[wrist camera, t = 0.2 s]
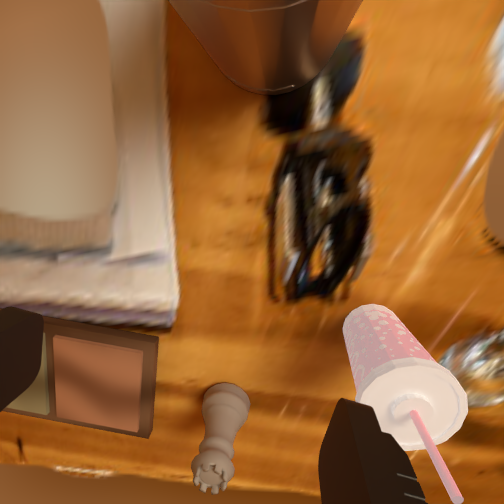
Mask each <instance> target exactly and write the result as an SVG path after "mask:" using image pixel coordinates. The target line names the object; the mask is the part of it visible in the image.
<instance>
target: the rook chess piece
mask: <svg viewBox="0 0 504 504" xmlns="http://www.w3.org/2000/svg"><path fill="white" fill-rule="evenodd" d="M249 408H250V401H249V398H248V395H247V394H246V393H245V392H244V391H243V390H242V389H241V388H240V387H238V386H236V385H234V384H231V383H220V384H216V385H214V386H213V387H211V388H209V389H208V390H207V392H206V393H205V395H204V400H203V403H202V415H203V418H204V422H205V425H206V428H205V436H204V440H203V441H202V442H201V444H200V445H199V452H200V454H199V455H197V456H196V457H195V458H194V459H193V461H192V464H191V469H192V472H193V474H194V475H193V476H194V478H193V483H194V485H195V486H196V485H198V484H199V483H200V489H199V490H200V491H202V492H204V493H205V492H206V489H207V487H210V488H212V491H211V493H212V494H218V491H219V487H221V488H220V489H221V490H222V491H224V490H225V489H226V487H227V483H228V482H229V481H230V480H231V478H232V477H233V476H234V470H235V469H234V467H233V464H232V462H231V459H232V458H233V456H234V449H233V442H234V439H235V436H236V433H237V431H238V430H239V429H240V428H241V427H242V425H243V424H244V423H245V422H246V420H247V417H248V412H249Z"/></svg>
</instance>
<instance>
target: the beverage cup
mask: <svg viewBox="0 0 504 504" xmlns="http://www.w3.org/2000/svg"><path fill="white" fill-rule="evenodd" d="M343 334H344V339H345V343H346V347H347V352H348V356H349V360H350V365H351V369H352V373H353V378H354V382H355V386H356V390H357V395H356V398H355V400H356V402H358V403H362V404H366V405H369V406H371V407H373V409H374V411H375V414H376V417H377V419H378V422H379V425H380V428H381V431H382V432H385V433H389V434H391V435H392V436H393V437H394V439H395V440H396V441H397V442H398V444H399V445H400V446H401V448H402V449H403V450H404V451H411V450H421V449H427V451H428V453H429V455H430V457H431V459H432V461H433V463H434V465H435V467H436V469H437V471H438V473H439V476H440V478H441V480H442V482H443V484H444V486H445V488H446V490H447V492H448V494H449V496H450V498H451V500H452V502H453V503H455V504H460V503H462V502H463V501H464V499H463V497H462V495H461V493H460V491H459V489H458V487H457V486H456V484H455V482H454V480H453V478H452V476H451V474H450V472H449V470H448V469H447V467H446V465H445V463H444V461H443V459H442V457H441V455H440V453H439V451H438V450H437V448H436V446H435V445H437V444H440V443H442V442H445V441H446V440H448V439H449V438H450V437H451V436H452V435H453V434H454V433H455V432H457V431H458V430H459V429H460V428H461V426H462V424H463V421H464V419H465V417H466V415H467V413H468V405H467V394H466V393H465V391H464V390H463V388H462V387H461V385H460V383H459V382H458V380H457V379H456V378H455V376H453V375H452V374H451V372H450V371H449V370H447V369H446V368H444V367H442V366H441V365H439V364H438V363H437V362H436V361H435V360H434V359H433V358H432V357H431V355H430V354H429V353H428V352H427V351H426V350H425V349H424V347H423V346H422V345H421V344H420V343H419V342H418V341H417V339H416V338H415V337H414V336H413V335H412V334H411V332H410V331H409V330H408V329H407V328H406V327H405V326H404V324H403V323H402V322H401V321H400V320H399V319H398V318H397V316H396V315H395V314H394V313H393V312H392V311H391V310H389V309H387V308H386V307H384V306H381V305H376V304H369V305H363V306H360V307H358V308H357V309H355V310H353V311H352V312H351V313H350V314H349V315H348V316H347V318H346V319H345V322H344V325H343Z"/></svg>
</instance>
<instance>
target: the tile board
mask: <svg viewBox="0 0 504 504" xmlns="http://www.w3.org/2000/svg"><path fill="white" fill-rule="evenodd" d="M0 310H2V308H0ZM42 317H43V319H44V330H43V345H42V360H41V367H40V370H39V373H38V375H37V377H36V379H35V380H34V382H33V383H32V384H31V385H30V387H29V388H28V389H27V390H25V391H24V392H23V393H22V394H21V395H20V396H18V397H17V398H16V399H15V400H14V401H13V402H11V403H10V404H9V405H8V406H7V407H6V408H4V409H3V410H2V411H6V412H11V413H16V414H22V415H27V416H32V417H37V418H43V419H48V420H53V421H58V422H64V423H69V424H74V425H79V426H84V427H90V428H95V429H100V430H105V431H111V432H116V433H121V434H126V435H132V436H137V437H142V438H147V439H149V436H150V434H151V432H152V428H153V413H154V399H155V385H156V371H157V356H158V342H159V337H157V336H151V335H146V334H140V333H134V332H129V331H123V330H118V329H112V328H107V327H101V326H96V325H90V324H85V323H79V322H74V321H68V320H62V319H57V318H51V317H46V316H42Z"/></svg>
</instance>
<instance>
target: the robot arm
mask: <svg viewBox="0 0 504 504" xmlns="http://www.w3.org/2000/svg"><path fill="white" fill-rule="evenodd" d="M168 1H169V2H170V3H171V5H172V6H173V7H174V9H175V10H176V11H177V13H178V14H179V15H180V17H181V18H182V19H183V21H184V22H185V23H186V25H187V26H188V28H189V29H190V30H191V32H192V33H193V34H194V36H195V37H196V38H197V40H198V41H199V42H200V44H201V45H202V46H203V48H204V49H205V51H206V52H207V53H208V55H209V56H210V57H211V58H212V60H213V61H214V62H215V64H216V65H217V66H218V68H219V69H220V70H221V72H222V73H223V74H224V75H225V76H226V77H227V78H228V79H230V80H231V81H232V82H233V83H234V84H236V85H237V86H239V87H241V88H243V89H245V90H247V91H250V92H253V93H257V94H260V95H278V94H283V93H288V92H291V91H293V90H295V89H297V88H300V87H302V86H303V85H305V84H306V83H308V82H309V81H310V80H312V79H313V78H314V77H315V76H316V75H317V74H318V73H319V72H320V71H321V70H322V69H323V68H324V67H325V66H326V64H327V62H328V61H329V59H330V58H331V56H332V54H333V53H334V51H335V49H336V47H337V46H338V44H339V42H340V41H341V39H342V37H343V35H344V34H345V32H346V30H347V28H348V26H349V25H350V23H351V21H352V19H353V17H354V15H355V14H356V12H357V10H358V8H359V6H360V5H361V3H362V1H363V0H168ZM43 330H44V319H43V317H42V315H40V314H37V313H34V312H30V311H26V310H23V309H19V308H15V307H6V308H4V309H2V310H0V412H1V411H2V410H3V409H4V408H6V407H7V406H8V405H9V404H10V403H11V402H13V401H14V400H15V399H16V398H17V397H18V396H20V395H21V394H22V393H23V392H24V391H25V390H27V389H28V388H29V387H30V385H31V384H32V383H33V382H34V380H35V379H36V377H37V375H38V373H39V370H40V367H41V360H42V345H43ZM318 471H319V481H320V491H321V500H322V504H428V503H426V502H425V496H424V493H423V491H422V489H421V486H420V484H419V482H417V477H416V474H415V472H414V470H413V467H412V465H411V463H410V460H409V458H408V455H407V454H406V453H405V451H404V450H403V449H402V448H401V446H400V445H399V444H398V442H397V441H396V440H395V439H394V437H393V436H392V435H391V434H389V433H385V432H382V431H381V428H380V425H379V422H378V419H377V417H376V414H375V411H374V409H373V407H371V406H369V405H366V404H362V403H358V402H355V401H351V400H347V399H344V398H341V399H340V400H339V401H338V403H337V405H336V407H335V410H334V413H333V415H332V418H331V421H330V423H329V426H328V429H327V431H326V434H325V437H324V439H323V442H322V445H321V449H320V454H319V464H318Z"/></svg>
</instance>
